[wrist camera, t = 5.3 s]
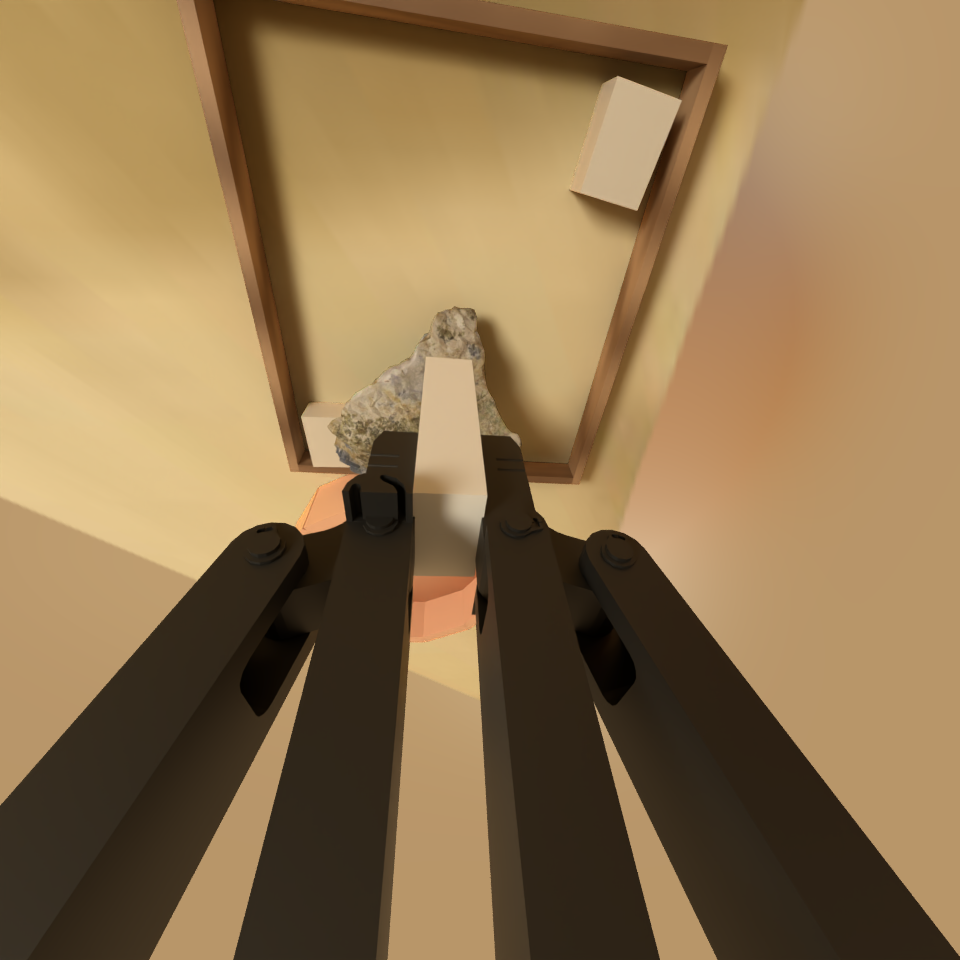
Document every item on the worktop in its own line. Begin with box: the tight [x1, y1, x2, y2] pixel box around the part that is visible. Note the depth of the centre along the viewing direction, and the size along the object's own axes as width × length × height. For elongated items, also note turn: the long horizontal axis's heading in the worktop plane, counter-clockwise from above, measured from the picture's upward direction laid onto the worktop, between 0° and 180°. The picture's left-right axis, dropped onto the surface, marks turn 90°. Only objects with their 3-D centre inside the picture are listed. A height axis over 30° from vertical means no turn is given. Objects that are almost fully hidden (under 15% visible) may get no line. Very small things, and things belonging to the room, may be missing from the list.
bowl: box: [295, 474, 477, 642], centre depth 35 cm, size 18×18×4 cm
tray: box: [177, 0, 728, 484], centre depth 23 cm, size 23×21×2 cm
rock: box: [327, 307, 522, 474], centre depth 25 cm, size 11×6×10 cm
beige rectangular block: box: [569, 76, 682, 211], centre depth 19 cm, size 4×3×2 cm
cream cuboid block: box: [301, 402, 350, 467], centre depth 28 cm, size 4×3×2 cm
